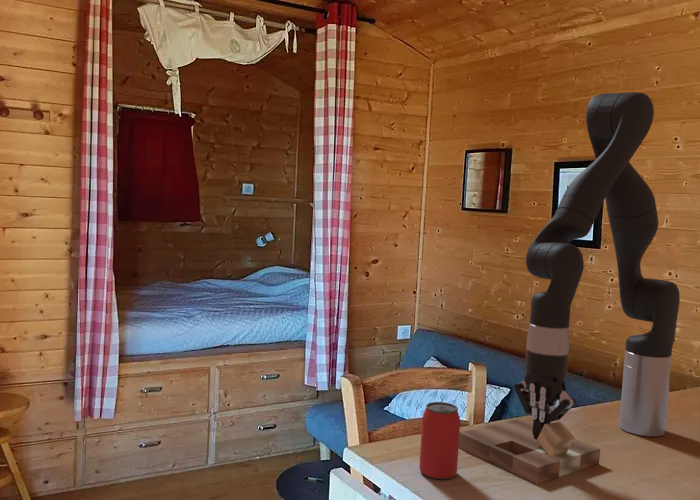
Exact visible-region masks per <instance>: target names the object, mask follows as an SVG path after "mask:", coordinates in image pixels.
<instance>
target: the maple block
mask: <svg viewBox="0 0 700 500" xmlns="http://www.w3.org/2000/svg"><path fill="white" fill-rule="evenodd" d="M574 439H576V436H574V435H573V433H572V432H571V431H570V430H569V429H568V428H567V427H566V426H565V425H564V424H563V423H562V422H561V421H558V422H557V421H555V422H551V423H550V424H544V426H543V428H542V430H541V432H540V434H539V436H538V438H537V440H536V441H537V442H538V443H539V444H540V445H541V447H542V448H543V449H544V450H545V451H546V452H547V453H548V454H549V456H550V457H551V456H556V455H561V454H566V453H567V451H568V449H569V447H570V445H571V444H572V442H573V440H574Z"/></svg>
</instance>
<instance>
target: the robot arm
mask: <svg viewBox="0 0 700 500" xmlns="http://www.w3.org/2000/svg"><path fill="white" fill-rule="evenodd" d="M653 104H654V103H653V101H652V99H651V98H650V96H649V95H648V94H646V93H644V92H640V91H638V92H637V91H636V92H635V91H627V92H607V93H606V92H605V93H599V94H596V95H594V96H593V97H591V99H590V100H589V102H588V104H587V107H586V111H585V113H586V114H585V123H586V128H587V133H588V136H589V137H588V138H589V140H590V144H591V147H592V148H591V149H592V150H593V153H594V157H595V160H594V161H593V162H591V164H589V165H588V166H587V167H586V168H585V169H584V170H583V171H581V172H580V173H579V174H578V175H577V176H576V177H575V178H574V179H573V180H572V181H571V183H569V185H568V187H567V188H566V190H565V191H564V194H563V195H562V197H561V200H560V202H559V204H558V206H557V208H556V210H555V213H554V215H553V216H552V218H551V219H550V220H549V221H548V222H547V223H546V224H545V226H544V227H543V228H542V229H541V231H540V232H538V234H537V235H536V237H535V238H534V239H533V240H532V242H531V243H530V245H529V247H528V249H527V251H526V257H525V265H526V268H527V271H528V272H529V273H530V275H532V276H533V277H536V278H540V279H546V280H550V283H549V286H548V288H547V290H546V291H540V292H539V291H538V292H536V293H534V294H533V296H532V299H531V302H530V303H531V304H530V316H529V317H530V318H529V326H528V331H527V336H526V348H525V349H526V350H525V362H524V371H525V372H526V373H525V375H524V378H523V381H521V382H518V383H515V384H514V385H513V388H514V390H515V394H516V395H517V397H518V399H519V401H520V403H521V406H522V409H523V410H524V412H525V414H528V415H530V416H531V418H532V419H533V421H532V423H533V435H534V439H536V440H537V438H538V436H539V434H540V432H541V430H542V428H543V426H544V424H550V423H553V422H557V421H560V420H561V419H562V418H563V417H564V416H565V415H566V414H567V413H568V412H569V411H570V410H571V409H572V408H573V407H574V406H575V405H576V404H577V400H576V399H575V398H574V397H570V396H569V394H568V393H567V392H566V390H567V387H566V383H565V379H566V376H567V374H568V362H569V361H568V360H569V350H570V320H571V306H572V302H573V300H574V297H575V295H576V292H577V291H578V290H577V289H578V287H579V284H580V282H581V279H582V275H583V273H584V266H585V264H584V261H585V260H584V257H583V253H582V251H581V250H580V248H579V247H578V246H576V245H575V244H572V243H570V242H571V241H574V240H578V239H582V238H584V237H586V236H587V235H588V234H589V233H590V232H591V229H592V227H593V226H594V223H595V220H596V218H597V216H598V214H599V213H600V210H601V207H603V206H602V205H603V203H604V201H605V204H606V211H607V217H608V221H609V222H608V223H609V227H610V231H611V236H612V241H613V246H614V251H615V257H616V258H615V259H616V263H617V264H616V266H617V278H618V287H619V297H620V303H621V305H620V306H621V308H622V311H623V313H624V314H625V315H626V317H628V318H630V319H632V320H638V321H644V322H650V323H652V326H651V330H650V331H647V332H646V333H643V334H635V335H630V336H628V337H627V338H626V340H625V348H624V360H623V361H624V362H623V373H622V374H623V376H622V384H621V385H622V388H621V398H620V411H619V419H618V422H619V423H618V426H619V428H620V429H621V430H623V431H624V432H628V433H630V434H634V435H637V436H643V437H661V436H664V435H665V432H666V430H667V421H668V409H669V400H670V399H669V397H670V376H671V365H672V363H671V362H672V353H673V347H674V342H675V338H676V329H677V328H676V327H677V321H678V315H679V310H680V309H679V308H680V302H681V301H680V300H681V299H680V290H679V287H678V285H677V284H676V283H675V282H673V281H669V280H662V279H653V278H645V277H644V276H643V274H642V269H641V262H642V259H643V258H644V257H643V256H644V254H645V253H646V251H647V249H648V248H649V247H650V245H651V243H652V241H653V240H654V239H655V236H656V234H657V231H658V228H659V216H658V211H657V204H656V198H655V196H654V193H653V191H652V189H651V188H650V186H649V185H648V183H647V182H646V181H645V179H644V178H643V177H642V176H641V175H640V174H639V172H638V171H637V170H636V169H635V167H634V166H633V164H631V162H630V161H631V159H632V158H633V156H635V155H634V154H635V153H636V152H637V150H638V149H639V148H640V146H641V144H642V143H643V142H644V140H645V138H646V137H647V135H648V133H649V131H650V129H651V126H652V125H653V121H654V114H655V109H654V105H653ZM557 403H558V404H557Z"/></svg>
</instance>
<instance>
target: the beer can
mask: <svg viewBox="0 0 700 500" xmlns="http://www.w3.org/2000/svg"><path fill="white" fill-rule="evenodd" d="M458 410H459V408H458V406H456V405H455V404H452V403H449V402H444V401H443V402H442V401H433V402H432V401H431V402H429V403H427V404H426V405H425V410H424V411H423V414H422V417H421V418H422V419H421V436H420V451H419V452H420V453H419V465H418V466H419V471H420V473H421V474H422V475H423V476H426V477H428V478H431V479H435V480H448V479H451V478H453V477H455V476H456V475H457V473H458V460H459V459H458V458H459V433H460V429H461V418H460V415H459V411H458Z"/></svg>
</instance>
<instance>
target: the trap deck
mask: <svg viewBox="0 0 700 500" xmlns="http://www.w3.org/2000/svg"><path fill="white" fill-rule="evenodd" d="M458 449H461V450H463V451H465V452H467V453H469V454H472V455H474V456H476V457H477V458H480V459H482V460H484V461H487V462H489V463H490V464H493V465H495V466H497V467H499V468H501V469H504V470H506V471H508V472H510V473H511V474H514V475H516V476H519V477H521V478H523V479H524V480H527V481H528V482H531V483H534V484H536V485H538V484H542V483H544V482H548V481H551V480H554V479H557V478H560V477H565V476H566V475H570V474H573V473H577V472H579V471H582V470H584V469H588V468H591V467H594V466H597V465H599V464H600V458H601V457H600V456H601V448H600V447H597V446H594V445H591V444H590V443H587V442H584V441H581V440H578V439H577V438H574V440H573V442H572V444H571V445H570V447H569V449H568V451H567V453H566V454H561V455H556V456H551V457H550V456H549V454H548V453H547V452H546V451H545V450H544V449H543V448H542V447H541V445H540V444H539V443H538V442H537V441H536V439H534V435H533V422H531V421H528V420H525V419H523V418H518V419H513V420H509V421H504V422H500V423H496V424H495V423H494V424H490V425H487V426H482V427H478V428H474V429H469V430H465V431H461V432H460V431H459V447H458Z"/></svg>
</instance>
